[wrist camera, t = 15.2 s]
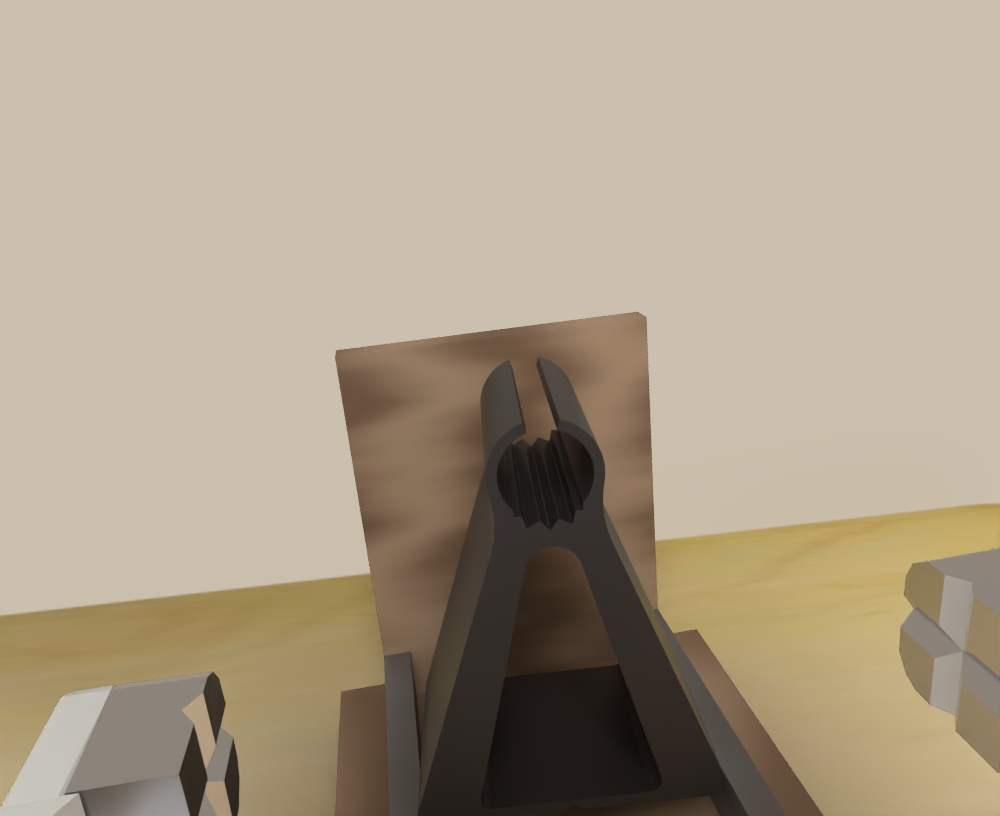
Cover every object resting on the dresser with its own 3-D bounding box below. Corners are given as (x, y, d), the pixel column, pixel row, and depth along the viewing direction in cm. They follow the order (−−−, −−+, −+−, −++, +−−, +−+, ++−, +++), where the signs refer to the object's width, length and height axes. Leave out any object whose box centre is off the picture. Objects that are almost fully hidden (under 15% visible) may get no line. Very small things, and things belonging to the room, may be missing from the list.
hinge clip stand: (333, 1096, 20) (202, 539, 15) (347, 700, 35) (282, 348, 30) (893, 965, 22) (936, 428, 17) (685, 640, 37) (676, 298, 32)
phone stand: (677, 667, 29) (667, 343, 26) (727, 795, 24) (724, 402, 20) (427, 693, 29) (380, 372, 25) (417, 827, 24) (355, 440, 20)
